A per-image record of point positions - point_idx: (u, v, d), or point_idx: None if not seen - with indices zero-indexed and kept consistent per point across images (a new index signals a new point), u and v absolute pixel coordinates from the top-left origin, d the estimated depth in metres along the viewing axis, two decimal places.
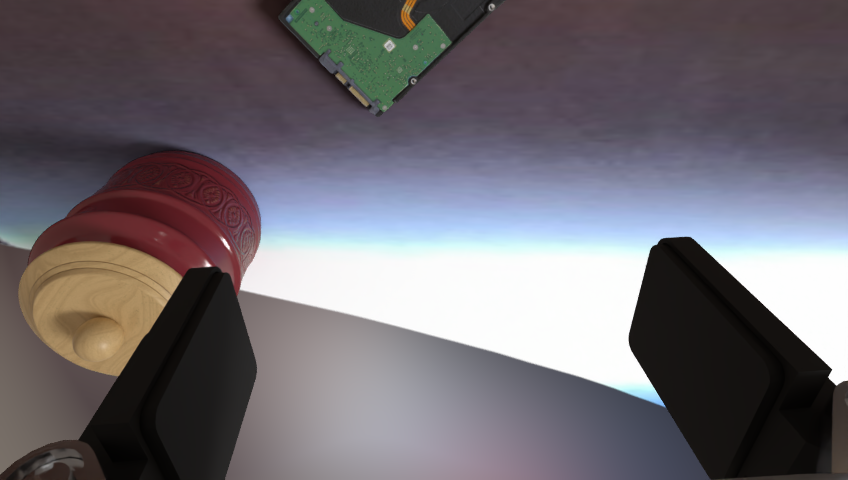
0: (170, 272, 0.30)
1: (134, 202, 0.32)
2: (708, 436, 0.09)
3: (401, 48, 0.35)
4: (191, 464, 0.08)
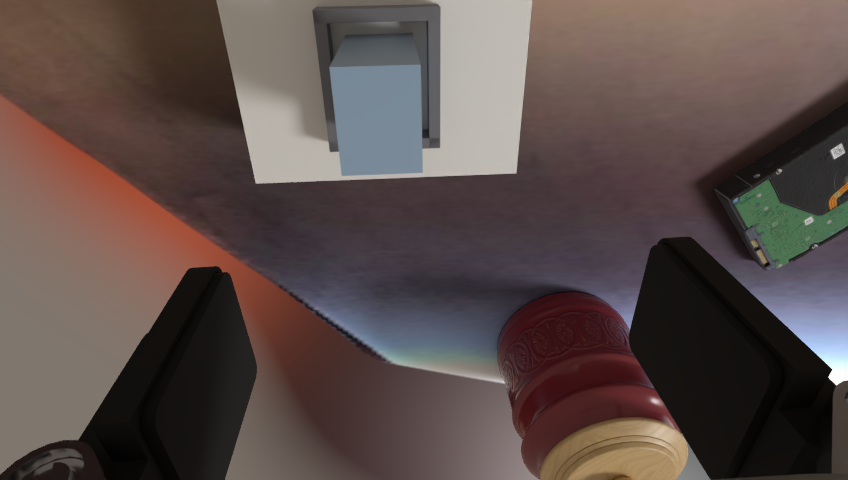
0: (683, 439, 0.35)
1: (617, 366, 0.37)
2: (708, 436, 0.09)
3: (817, 222, 0.41)
4: (191, 464, 0.08)
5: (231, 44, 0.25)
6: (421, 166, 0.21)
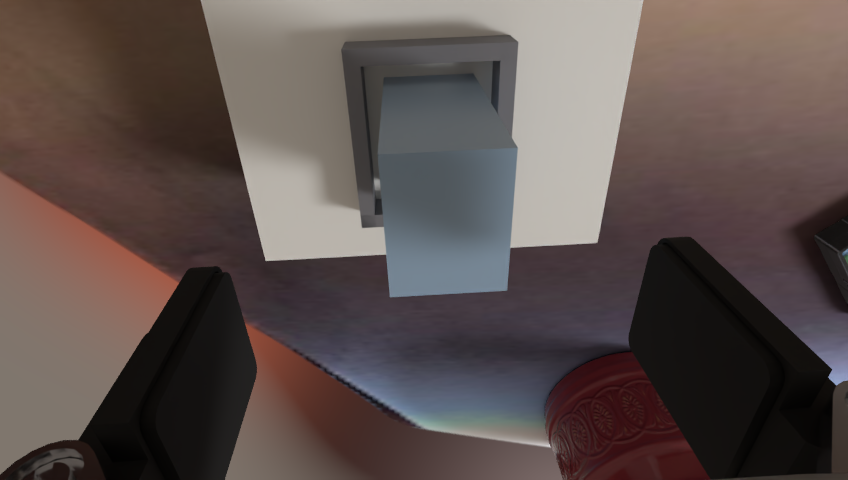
0: None
1: None
2: (707, 436, 0.09)
3: None
4: (191, 464, 0.08)
5: (231, 92, 0.19)
6: (505, 282, 0.14)
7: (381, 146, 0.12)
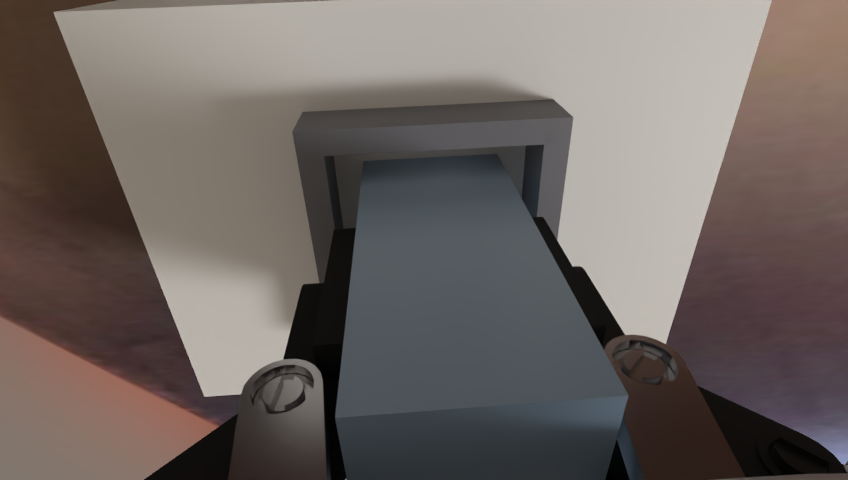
0: None
1: None
2: None
3: None
4: None
5: (132, 185, 0.12)
6: None
7: (345, 381, 0.06)
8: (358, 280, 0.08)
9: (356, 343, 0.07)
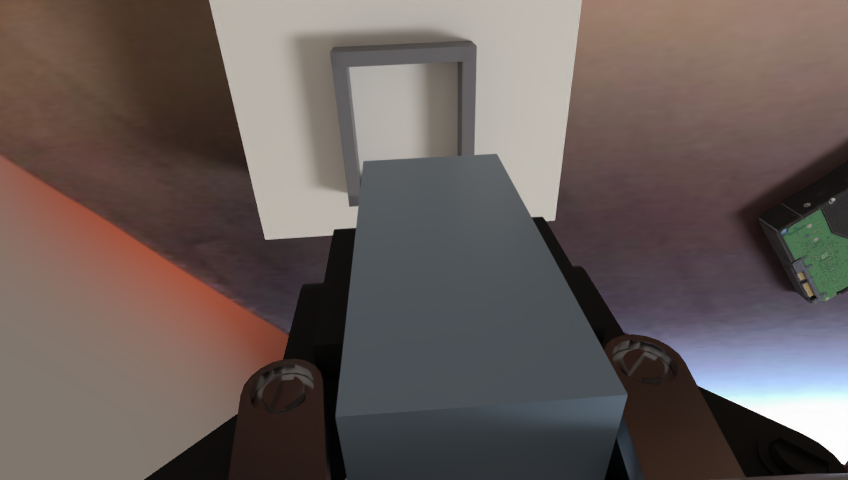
0: None
1: None
2: None
3: None
4: None
5: (236, 90, 0.22)
6: None
7: (345, 380, 0.06)
8: (358, 280, 0.08)
9: (356, 343, 0.07)
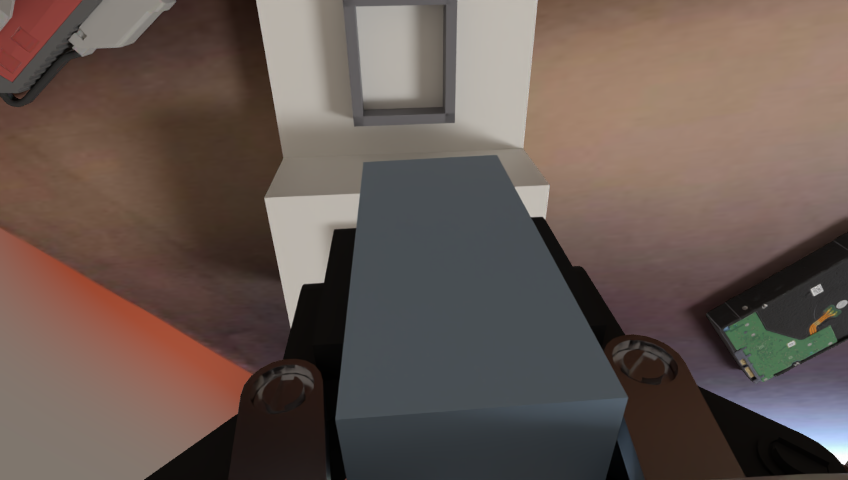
0: None
1: None
2: None
3: (799, 345, 0.44)
4: None
5: (281, 259, 0.28)
6: None
7: (345, 383, 0.06)
8: (358, 282, 0.08)
9: (356, 345, 0.07)
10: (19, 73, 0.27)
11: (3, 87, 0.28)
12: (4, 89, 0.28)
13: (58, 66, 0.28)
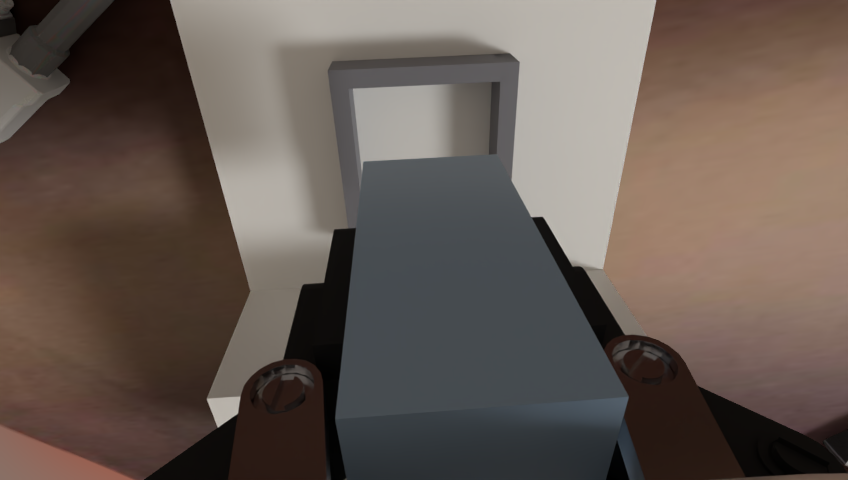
0: None
1: None
2: None
3: None
4: None
5: None
6: None
7: (345, 382, 0.06)
8: (358, 281, 0.08)
9: (356, 344, 0.07)
10: None
11: None
12: None
13: None
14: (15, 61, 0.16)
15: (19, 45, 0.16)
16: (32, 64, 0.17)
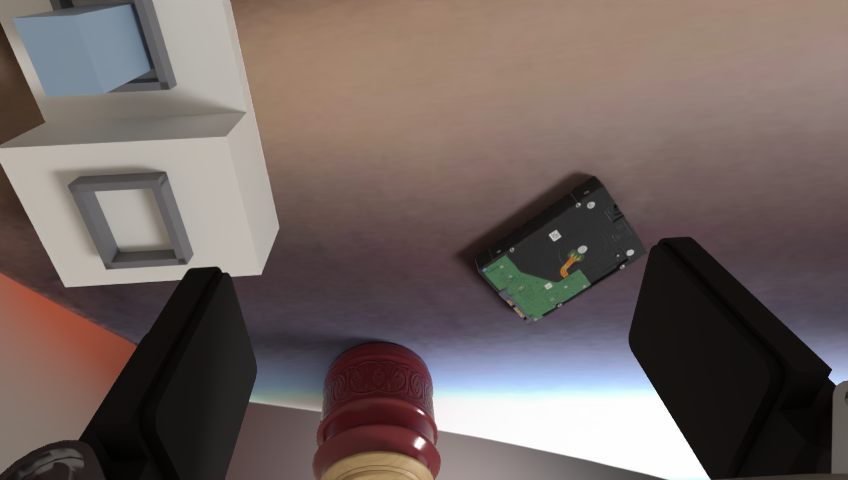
0: (421, 466, 0.45)
1: (384, 408, 0.48)
2: (708, 436, 0.09)
3: (556, 287, 0.51)
4: (191, 464, 0.08)
5: (24, 200, 0.35)
6: (101, 89, 0.30)
7: None
8: None
9: (29, 15, 0.29)
10: None
11: None
12: None
13: None
14: None
15: None
16: None
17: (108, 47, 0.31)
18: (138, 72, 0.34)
